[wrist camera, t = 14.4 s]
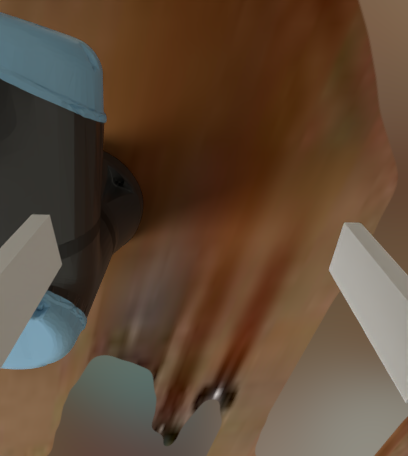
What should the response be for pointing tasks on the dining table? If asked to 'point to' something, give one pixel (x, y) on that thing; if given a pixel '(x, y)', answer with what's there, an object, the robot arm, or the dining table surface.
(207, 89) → the dining table surface
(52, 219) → the robot arm
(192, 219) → the dining table surface
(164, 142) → the dining table surface
